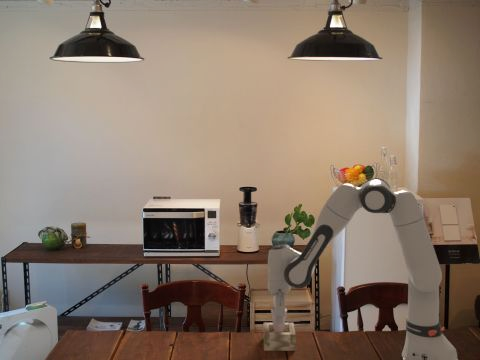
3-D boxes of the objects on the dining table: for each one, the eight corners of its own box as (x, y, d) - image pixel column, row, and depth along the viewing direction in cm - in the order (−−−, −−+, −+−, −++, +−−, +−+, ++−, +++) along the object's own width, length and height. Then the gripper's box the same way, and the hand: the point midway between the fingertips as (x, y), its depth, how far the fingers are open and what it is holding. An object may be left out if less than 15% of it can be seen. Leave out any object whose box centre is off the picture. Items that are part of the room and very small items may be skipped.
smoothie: (286, 336, 242) (286, 302, 240) (269, 335, 243) (269, 301, 241) (288, 330, 248) (288, 296, 246) (272, 329, 249) (272, 295, 247)
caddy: (293, 337, 252) (293, 322, 251) (295, 350, 240) (295, 334, 239) (263, 338, 252) (263, 322, 251) (264, 350, 240) (264, 334, 239)
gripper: (289, 294, 232) (288, 330, 234) (285, 277, 253) (285, 310, 255) (272, 294, 232) (272, 330, 235) (270, 277, 253) (270, 310, 255)
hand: (279, 319), depth 245 cm, fingers closed on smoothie, 5 cm apart
